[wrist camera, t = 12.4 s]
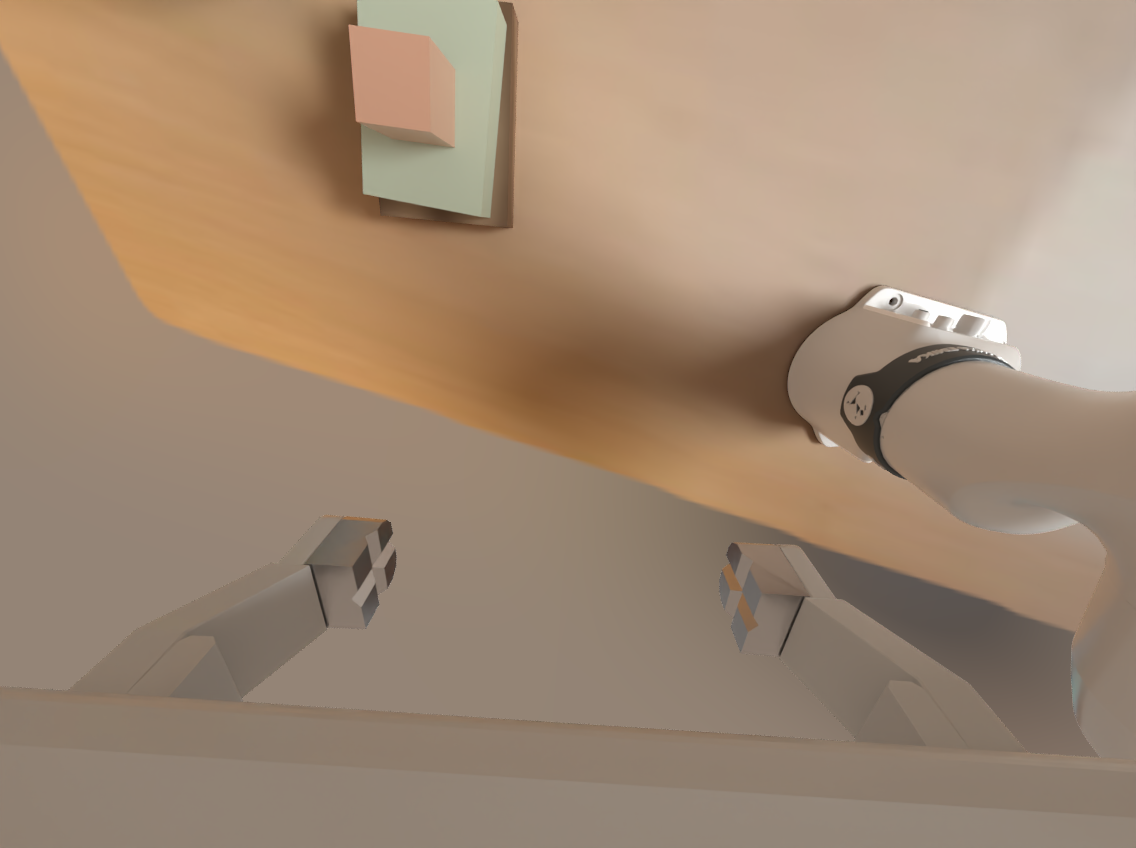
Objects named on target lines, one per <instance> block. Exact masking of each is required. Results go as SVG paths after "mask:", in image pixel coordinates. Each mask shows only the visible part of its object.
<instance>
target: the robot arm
mask: <svg viewBox="0 0 1136 848" xmlns="http://www.w3.org/2000/svg"><path fill="white" fill-rule="evenodd" d="M891 298H893V301H892V303H891V304H889V301H890V299H891ZM1006 340H1007V330H1006V324H1005V322H1004V321H1002V320H999V319H997V318H994V317H991V316H988V315H984V314H981V313H977V312H974V311H971V310H967V309H964V308H960V307H957V306H953V305H950V304H947V303H943V302H940V301H936V300H933V299H929V298H926V297H923V296H919V295H916V294H912V293H909V292H906V291H902V290H899V289H895V288H892V287H888V286H884V285H883V286H878V287H875V288H874V289H872V290H871V291H870V292H868V293H867V294H866V295H865V296H864V297H863V298H862V299H861V300H860V301H859V302H858V303H857V304H856V305H855V306H854V307H852V308H851V309H849V310H847V311H845V312H843V313H841V314H839V315H837V316H835V317H833V318H832V319H830V320H828V321H827V322H825V323H824V324H822V325H821V326H820V327H818V328H817V329H816V330H815V331H814V332H813V333H812V334H811V335H810V336H809V337H808V338H807V339H806V340H805V341H804V343H803V344H802V345H801V347H800V348H799V350H798V351H797V353H796V355H795V357H794V359H793V361H792V364H791V367H790V370H789V375H788V394H789V398H790V401H791V403H792V405H793V407H794V408H795V410H796V411H797V412H798V414H799V415H800V416H801V417H803V418H804V419H805V420H806V421H807V422H809V423H810V424H811V426H812V427H813V430H814V433H815V435H816V437H817V439H818V441H819V442H820V443H822V444H823V445H825V446H827V447H837V446H840V447H841V448H843V449H844V450H846V451H847V452H849V453H850V454H852V455H853V456H855V457H856V458H858V459H859V460H861V461H863V462H866V463H870V462H874V463H876V464H877V465H878V466H880V467H881V468H883V469H884V470H887V471H889V472H890V473H892V474H893V475H895V476H898V477H900V478H903V479H906V480H908V481H909V482H911V483H912V484H913V485H915V486H916V487H917V488H918V489H920V490H921V491H922V492H924V493H925V494H926V495H927V496H929V497H930V498H931V499H933V500H934V501H935V502H936V503H938V504H939V505H940V506H942V507H943V508H944V509H946V510H947V511H948V512H949V513H951V514H952V515H953V516H955V517H956V518H957V519H959V520H961V521H962V522H965V523H967V524H969V525H972V526H975V527H978V528H981V529H986V530H990V531H995V532H1001V533H1007V534H1039V533H1045V532H1050V531H1055V530H1058V529H1062V528H1065V527H1069V526H1071V525H1074V524H1077V523H1081V524H1083V525H1084V526H1085V527H1087V528H1088V529H1089V530H1090V531H1091V532H1093V533H1094V534H1095V535H1096V537H1097V538H1098V539H1099V540H1100V542H1101V543H1102V545H1103V546H1104V548H1105V549H1106V552H1107V554H1106V558H1105V568H1104V570H1103V572H1102V575H1101V577H1100V579H1099V582H1098V584H1097V586H1096V588H1095V591H1094V593H1093V595H1092V597H1091V600H1090V602H1089V604H1088V607H1087V609H1086V611H1085V613H1084V616H1083V618H1082V620H1081V622H1080V625H1079V627H1078V629H1077V631H1076V634H1075V636H1074V639H1073V642H1072V651H1071V652H1072V653H1071V684H1072V698H1073V709H1074V714H1075V717H1076V720H1077V722H1078V725H1079V727H1080V728H1081V731H1082V733H1083V734H1084V736H1085V737H1086V739H1087V740H1088V742H1089V743H1090V745H1091V746H1092V747H1093V749H1094V750H1095V751H1096V752H1097V754H1098V755H1099V756H1100V757H1101V758H1100V757H1083V756H1068V755H1052V754H1037V753H1028V752H1027V751H1026V750H1025V749H1024V748H1023V746H1022V745H1021V744H1020V743H1019V742H1018V740H1017V739H1016V738H1015V737H1014V736H1013V735H1012V733H1011V732H1010V731H1009V730H1008V729H1007V728H1006V726H1005V725H1004V724H1003V723H1002V722H1001V721H1000V719H999V718H998V717H997V716H996V715H995V713H994V712H993V711H992V710H991V709H990V707H989V706H988V705H987V704H986V703H985V701H984V700H983V699H982V698H981V697H980V696H979V694H978V693H977V692H976V691H975V690H974V689H973V687H972V686H971V685H970V684H969V683H967V682H966V681H964V680H963V679H961V678H960V677H958V676H957V675H955V674H954V673H952V672H951V671H949V670H947V669H946V668H945V667H943V666H942V665H940V664H939V663H937V662H936V661H934V660H933V659H931V658H930V657H928V656H927V655H925V654H924V653H922V652H921V651H919V650H918V649H916V648H915V647H913V646H912V645H910V644H909V643H907V642H906V641H904V640H903V639H901V638H900V637H898V636H897V635H895V634H894V633H892V632H891V631H889V630H888V629H886V628H885V627H883V626H882V625H880V624H879V623H877V622H876V621H874V620H873V619H871V618H870V617H868V616H867V615H865V614H864V613H862V612H861V611H859V610H858V609H856V608H855V607H853V606H852V605H850V604H849V603H847V602H846V601H844V600H840V599H836V598H835V597H834V595H833V594H832V592H831V591H830V589H829V588H828V587H827V585H826V584H825V582H824V581H823V579H822V578H821V576H820V575H819V573H818V572H817V571H816V569H815V568H814V566H813V565H812V563H811V562H810V560H809V559H808V558H807V556H806V555H805V553H804V552H803V550H802V549H801V548H800V547H798V546H797V545H781V544H775V545H772V544H754V543H737V542H732V543H731V544H730V546H729V547H728V551H727V554H726V556H727V558H728V560H729V564H728V565H727V566H726V567H724V568H723V569H722V572H721V576H720V580H719V583H720V586H719V587H720V588H719V589H720V590H719V592H720V597H721V601H722V604H723V607H724V610H725V611H726V612H727V613H728V614H729V615H730V616H732V617H733V621H732V625H731V629H732V631H733V634H734V636H735V639H736V642H737V645H738V647H739V650H740V652H741V653H743V654H754V655H764V656H775V657H780V660H781V661H782V662H783V663H784V664H785V665H786V666H787V667H788V668H789V670H791V672H792V673H793V674H794V675H795V676H796V677H797V678H798V679H799V680H800V681H801V682H802V683H803V684H804V685H805V686H806V687H807V688H808V689H809V690H810V691H811V692H812V694H813V695H814V696H815V697H816V698H817V699H818V700H819V701H820V702H821V703H822V704H823V705H824V706H825V707H826V708H827V709H828V710H829V711H830V712H831V713H832V714H833V716H834V717H836V719H837V720H838V721H839V722H840V723H841V724H842V725H843V726H844V727H845V728H846V729H847V730H848V731H849V732H850V733H851V734H852V735H853V736H854V738H855V739H854V741H838V740H824V739H823V740H822V739H808V738H792V737H777V736H761V735H747V734H731V733H716V732H699V731H684V730H668V729H667V730H666V729H652V728H637V727H621V726H605V725H589V724H575V723H560V722H544V721H528V720H513V719H499V718H498V719H497V718H484V717H469V716H453V715H438V714H422V713H407V712H391V711H376V710H360V709H346V708H329V707H315V706H299V705H283V704H269V703H252V702H243V700H242V698H243V697H244V696H245V695H246V694H248V693H249V692H250V691H251V690H252V689H254V688H255V687H256V686H258V685H259V684H260V683H261V682H263V681H264V680H265V679H266V678H268V677H269V676H270V675H271V674H272V673H274V672H275V671H276V670H278V669H279V668H280V667H281V666H282V665H284V664H285V663H286V662H288V661H289V660H290V659H291V658H292V657H294V656H295V655H296V654H297V653H299V652H300V651H301V650H302V649H304V648H305V647H306V646H307V645H309V644H310V643H311V642H312V641H314V640H315V639H316V638H317V637H319V636H320V635H321V634H322V633H324V632H325V631H326V630H327V628H351V629H366V627H367V626H368V624H369V622H370V620H371V619H372V617H373V615H374V613H375V611H376V609H377V607H378V606H379V600H378V595H379V594H380V593H382V592H383V591H385V590H386V589H388V587H389V585H390V583H391V581H392V579H393V576H394V572H395V568H396V550H395V547H394V546H393V545H392V544H391V543H390V542H389V539H390V538H391V536H392V534H393V531H392V526H391V522H389V521H388V520H383V519H382V520H381V519H370V518H360V517H348V516H347V517H344V516H333V515H324V516H322V517H320V518H319V519H318V520H317V521H316V522H315V523H314V524H313V525H312V526H311V527H310V528H309V529H308V531H307V532H306V533H305V534H304V535H303V536H302V537H301V538H300V539H299V540H298V542H297V543H296V544H295V545H294V546H293V547H292V548H291V549H290V550H289V551H288V553H287V554H286V555H285V556H284V557H283V558H282V559H281V560H280V561H279V562H278V563H270V564H268V565H266V566H263V567H261V568H259V569H257V570H255V571H253V572H251V573H250V574H248V575H245V576H243V577H241V578H239V579H237V580H235V581H233V582H231V583H229V584H227V585H225V586H223V587H221V588H219V589H217V590H215V591H213V592H211V593H209V594H207V595H204V596H202V597H200V598H198V599H197V600H194V601H192V602H190V603H188V604H186V605H184V606H182V607H180V608H178V609H177V610H174V611H172V612H170V613H168V614H166V615H164V616H162V617H160V618H158V619H156V620H154V621H152V622H150V623H148V624H146V625H144V626H142V627H140V628H138V629H136V630H135V631H133V632H132V633H131V634H130V635H129V636H128V637H127V638H126V639H124V640H123V641H122V642H121V643H120V644H119V645H118V646H117V647H116V648H114V649H113V650H112V651H111V652H110V653H109V654H108V655H107V656H106V657H105V658H103V659H102V660H101V661H100V662H99V663H98V664H97V665H96V666H94V667H93V668H92V669H91V670H90V671H89V672H88V673H87V674H86V675H84V676H83V677H82V678H81V679H80V680H79V681H78V682H77V683H76V684H74V685H73V686H72V687H71V688H70V689H69V690H53V689H38V688H22V687H6V686H0V848H1136V391H1129V392H1106V391H1097V390H1090V389H1085V388H1080V387H1076V386H1072V385H1068V384H1064V383H1060V382H1056V381H1052V380H1048V379H1045V378H1041V377H1038V376H1034V375H1031V374H1027V373H1024V372H1021V371H1020V369H1021V355H1020V352H1019V350H1018V349H1017V348H1016V347H1014V346H1010V345H1007V344H1006Z"/></svg>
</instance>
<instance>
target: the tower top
mask: <svg viewBox="0 0 1136 848" xmlns="http://www.w3.org/2000/svg"><path fill="white" fill-rule="evenodd" d="M357 15H358V26H363V27H369V28H376V29H383V30H390V31H396V32H403V33H410V34H417V35H424V36H429V37H430V38H431V39H432V41H433V42H434V43H435V44H436V46H437V47H438V48H439V49H440V51H441V52H442V53H443V55H444V56H445V57H446V58H447V60H448V61H449V62H450V63H451V65H452V66H453V67H454V69H455V148H453V147H445V146H438V145H431V144H424V143H417V142H410V141H403V140H396V139H391V138H389V137H387V136H385V135H383V134H381V133H379V132H377V131H375V130H372V129H370V128H368V127H366V126H364V125H362V124H361V145H362V178H363V194H366V195H371V196H376V197H381V198H386V199H392V200H397V201H402V202H407V203H412V204H417V205H422V206H427V207H433V208H438V209H443V210H448V211H453V212H458V213H463V214H468V215H473V216H479V217H486V218H490V215H491V203H492V192H493V180H494V169H495V157H496V146H497V134H498V122H499V111H500V99H501V88H502V76H503V65H504V53H505V42H506V30H507V24H506V22H505V19H504V16H503V13H502V11H501V8H500V5H499V3H498V1H497V0H357Z"/></svg>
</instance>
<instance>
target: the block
mask: <svg viewBox="0 0 1136 848" xmlns="http://www.w3.org/2000/svg"><path fill="white" fill-rule="evenodd" d="M348 25H349V24H348ZM349 38H350V51H351V64H352V77H353V90H354V103H355V116H356V122H358V123H360V124H362V125H364V126H366V127H368V128H370V129H372V130H375V131H377V132H379V133H381V134H383V135H385V136H387V137H389V138H391V139H396V140H403V141H410V142H417V143H424V144H431V145H438V146H445V147H453V148H455V69H454V67H453V66H452V65H451V63H450V62H449V61H448V60H447V58H446V57H445V56H444V55H443V53H442V52H441V51H440V49H439V48H438V47H437V46H436V44H435V43H434V42H433V41H432V39H431V38H430V37H429V36H424V35H417V34H410V33H403V32H396V31H390V30H383V29H376V28H369V27H363V26H356V25H349Z"/></svg>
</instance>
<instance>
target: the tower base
mask: <svg viewBox="0 0 1136 848" xmlns="http://www.w3.org/2000/svg"><path fill="white" fill-rule="evenodd" d="M498 3H499V5H500V8H501V11H502V13H503V16H504V19H505V22H506V24H507V30H506V42H505V53H504V65H503V76H502V88H501V99H500V111H499V122H498V134H497V146H496V157H495V169H494V180H493V192H492V203H491V215H490V218H486V217H479V216H473V215H468V214H463V213H458V212H453V211H448V210H443V209H438V208H433V207H427V206H422V205H417V204H412V203H407V202H402V201H397V200H392V199H386V198H381V197H379V202H380V213H381V215H382V216H392V217H403V218H413V219H424V220H434V221H444V222H455V223H465V224H476V225H486V226H496V227H507V228H513V200H514V163H515V126H516V90H517V53H518V20H517V16H516V13H515V10H514V7H513V3H507V2H498Z"/></svg>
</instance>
